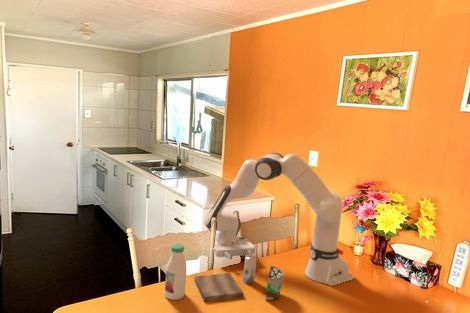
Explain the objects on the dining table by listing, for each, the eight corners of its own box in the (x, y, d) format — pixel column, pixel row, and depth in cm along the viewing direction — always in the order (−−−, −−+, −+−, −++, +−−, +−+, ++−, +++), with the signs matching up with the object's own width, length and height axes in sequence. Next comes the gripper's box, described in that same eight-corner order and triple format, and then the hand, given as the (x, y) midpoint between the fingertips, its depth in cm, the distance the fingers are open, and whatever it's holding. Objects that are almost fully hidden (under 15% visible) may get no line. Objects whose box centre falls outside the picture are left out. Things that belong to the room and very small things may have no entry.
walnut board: (229, 277, 147) (229, 272, 147) (243, 296, 133) (243, 292, 132) (194, 280, 142) (194, 276, 141) (204, 301, 127) (204, 297, 127)
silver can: (251, 277, 148) (253, 254, 147) (256, 283, 144) (258, 259, 142) (241, 279, 147) (243, 255, 145) (245, 284, 142) (247, 260, 141)
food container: (281, 305, 129) (283, 281, 127) (265, 302, 130) (267, 278, 129) (282, 289, 141) (285, 267, 139) (268, 287, 142) (270, 264, 141)
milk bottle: (182, 288, 135) (186, 241, 132) (186, 299, 127) (189, 249, 125) (163, 290, 132) (166, 242, 129) (165, 301, 125) (169, 250, 122)
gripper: (211, 240, 164) (219, 252, 151) (249, 237, 171) (260, 249, 158) (210, 252, 164) (218, 265, 152) (248, 249, 172) (259, 261, 159)
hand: (240, 256), depth 155 cm, fingers open, 8 cm apart
